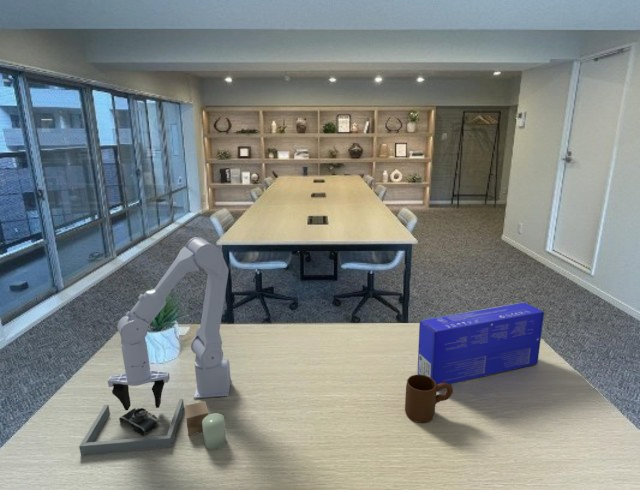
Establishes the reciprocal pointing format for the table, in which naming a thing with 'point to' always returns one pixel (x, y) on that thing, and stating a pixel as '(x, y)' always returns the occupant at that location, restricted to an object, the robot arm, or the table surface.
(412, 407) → the mug
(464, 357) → the toner cartridge box
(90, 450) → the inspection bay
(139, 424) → the camera
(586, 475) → the table surface
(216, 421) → the rounded green capsule
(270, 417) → the table surface
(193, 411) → the walnut block
